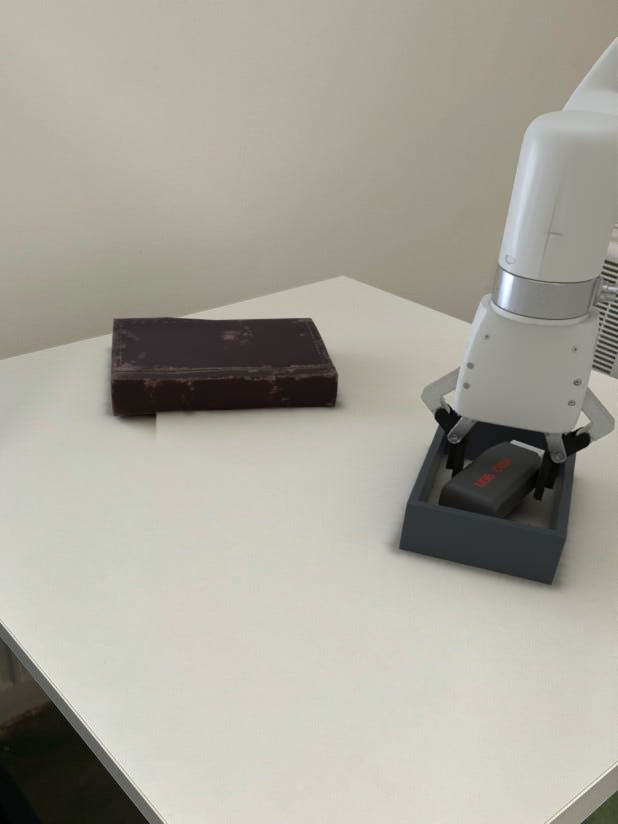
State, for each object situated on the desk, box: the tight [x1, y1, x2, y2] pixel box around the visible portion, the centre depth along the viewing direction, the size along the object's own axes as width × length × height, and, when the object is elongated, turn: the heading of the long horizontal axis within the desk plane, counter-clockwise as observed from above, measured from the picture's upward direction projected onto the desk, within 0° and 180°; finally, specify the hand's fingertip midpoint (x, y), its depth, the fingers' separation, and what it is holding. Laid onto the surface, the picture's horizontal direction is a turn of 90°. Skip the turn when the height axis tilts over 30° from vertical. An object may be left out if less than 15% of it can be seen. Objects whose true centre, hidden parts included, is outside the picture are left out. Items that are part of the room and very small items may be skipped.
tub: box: [398, 409, 577, 586], centre depth 75 cm, size 19×13×6 cm
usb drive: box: [437, 440, 544, 519], centre depth 74 cm, size 5×12×3 cm, turn 138°
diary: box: [110, 316, 339, 417], centre depth 98 cm, size 19×25×5 cm
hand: (497, 482), depth 75 cm, fingers closed on usb drive, 6 cm apart
